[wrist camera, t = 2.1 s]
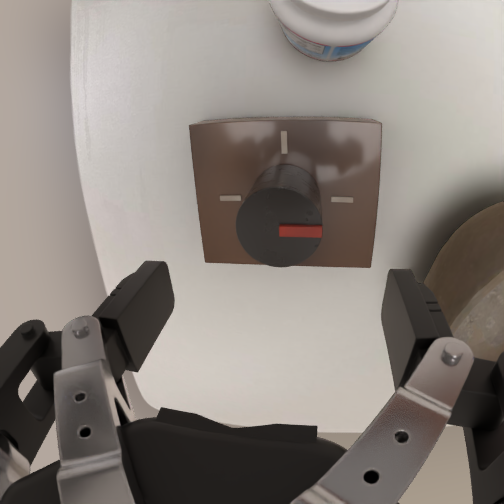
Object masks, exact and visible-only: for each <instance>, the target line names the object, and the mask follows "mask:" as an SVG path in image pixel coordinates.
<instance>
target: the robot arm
mask: <svg viewBox="0 0 504 504" xmlns="http://www.w3.org/2000/svg"><path fill="white" fill-rule="evenodd" d="M174 302H175V300H174V293H173V289H172V284H171V279H170V275H169V270H168V266H167V264H166V262H164V261H145V262H144V263H143V264H142V265H141V266H140V267H139V268H138V270H137V271H136V272H135V273H132V274H131V275H129V276H127V277H126V278H124V279H123V280H122V281H121V282H120V283H119V284H118V285H117V287H116V289H114V290H113V291H112V292H111V294H110V296H108V297H107V298H106V299H105V301H104V302H103V303H102V304H101V305H100V306H99V308H98V309H97V310H96V311H95V312H94V314H93V315H92V316H82V317H78V318H75V319H73V320H71V321H70V322H69V323H67V324H66V326H65V327H64V328H63V330H62V331H54V332H48V331H47V329H46V327H45V325H44V323H43V322H42V321H41V320H30V321H27V322H25V323H23V324H22V325H20V326H19V327H18V328H17V329H16V330H15V331H14V332H13V333H12V335H11V336H10V337H9V338H8V339H7V340H6V342H5V343H4V344H3V345H2V346H1V348H0V504H399V503H398V500H399V499H400V498H401V496H402V495H403V494H404V492H405V491H406V490H407V488H408V487H409V485H410V484H411V482H412V481H413V479H414V478H415V476H416V475H417V473H418V472H419V470H420V469H421V467H422V466H423V464H424V462H425V461H426V459H427V458H428V456H429V454H430V453H431V451H432V449H433V448H434V446H435V444H436V442H437V441H438V439H439V437H440V435H441V433H442V432H443V430H444V428H445V426H446V424H450V425H456V426H462V427H463V430H464V436H465V441H466V447H467V454H468V461H469V468H470V475H471V485H472V496H473V504H504V351H503V352H502V353H501V354H500V356H499V358H498V359H497V361H496V362H495V361H490V360H485V359H479V358H475V357H474V355H473V352H472V350H471V348H470V347H469V346H468V345H467V344H466V343H464V342H463V341H461V340H459V339H456V338H454V336H453V334H452V332H451V329H450V327H449V325H448V323H447V320H446V318H445V316H444V314H443V312H442V311H441V310H442V309H441V307H440V305H439V304H438V301H437V299H436V297H435V295H434V293H433V291H431V290H430V289H429V288H428V287H427V286H426V285H425V284H417V281H416V279H415V277H414V275H413V273H412V271H411V270H410V269H390V270H389V272H388V277H387V283H386V288H385V293H384V299H383V304H382V311H381V320H382V326H383V330H384V335H385V340H386V344H387V349H388V354H389V359H390V364H391V370H392V375H393V381H394V386H395V393H394V394H393V395H392V397H391V398H390V399H389V401H388V402H387V403H386V405H385V406H384V407H383V409H382V410H381V411H380V412H379V414H378V415H377V416H376V417H375V419H374V420H373V421H372V422H371V424H370V425H369V426H368V427H367V428H366V430H365V431H364V432H363V433H362V435H361V436H360V437H359V438H358V439H357V440H356V441H355V443H354V444H353V445H352V446H351V447H350V448H349V449H348V450H347V449H345V448H344V447H342V446H340V445H338V444H336V443H334V442H331V441H329V440H326V439H323V438H319V437H317V426H307V425H288V424H271V425H263V426H253V427H244V428H231V427H228V426H225V425H223V424H220V423H218V422H215V421H213V420H210V419H208V418H205V417H203V416H200V415H198V414H194V413H189V412H183V411H178V410H173V409H168V408H163V407H161V409H160V411H159V413H158V415H157V417H153V418H145V419H140V420H136V417H135V414H134V411H133V408H132V404H131V401H130V397H129V394H128V390H127V387H126V383H125V380H124V378H123V373H124V371H125V370H129V371H133V372H138V371H139V369H140V368H141V366H142V364H143V362H144V361H145V359H146V357H147V355H148V353H149V352H150V350H151V348H152V346H153V345H154V343H155V341H156V339H157V338H158V336H159V334H160V332H161V331H162V329H163V327H164V326H165V324H166V322H167V320H168V319H169V317H170V315H171V313H172V312H173V309H174ZM30 369H31V371H32V372H33V374H34V376H35V377H36V379H37V381H36V383H35V384H34V386H33V387H32V389H31V390H30V392H29V393H28V395H27V396H26V398H25V399H24V401H23V402H22V401H21V399H20V398H19V395H18V388H19V385H20V383H21V382H22V380H23V379H24V378H25V376H26V375H27V373H28V372H29V370H30ZM55 419H56V429H57V440H58V448H59V456H60V460H58V461H56V462H54V463H52V464H50V465H48V466H46V467H44V468H42V469H40V470H37V471H36V472H33V473H31V474H30V466H31V464H32V462H33V460H34V458H35V456H36V454H37V452H38V450H39V448H40V447H41V445H42V443H43V441H44V439H45V437H46V435H47V434H48V432H49V430H50V428H51V426H52V424H53V423H54V421H55Z"/></svg>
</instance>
